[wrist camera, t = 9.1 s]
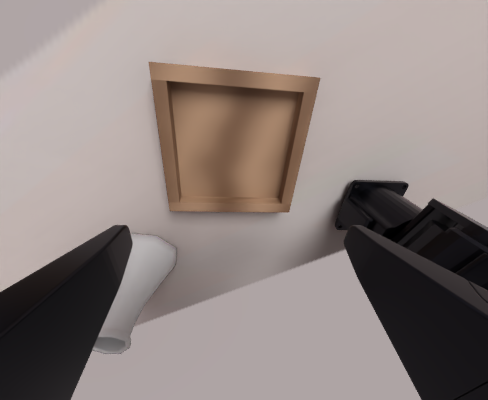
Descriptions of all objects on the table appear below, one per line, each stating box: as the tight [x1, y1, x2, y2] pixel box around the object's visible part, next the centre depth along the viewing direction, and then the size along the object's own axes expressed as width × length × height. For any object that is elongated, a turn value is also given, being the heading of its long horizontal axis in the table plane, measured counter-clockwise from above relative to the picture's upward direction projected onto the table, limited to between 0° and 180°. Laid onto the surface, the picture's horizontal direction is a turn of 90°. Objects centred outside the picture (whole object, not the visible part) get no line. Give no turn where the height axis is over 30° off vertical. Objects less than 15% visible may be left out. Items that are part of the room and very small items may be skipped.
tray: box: [149, 62, 320, 212], centre depth 18 cm, size 12×12×2 cm
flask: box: [92, 233, 177, 354], centre depth 21 cm, size 7×7×10 cm
